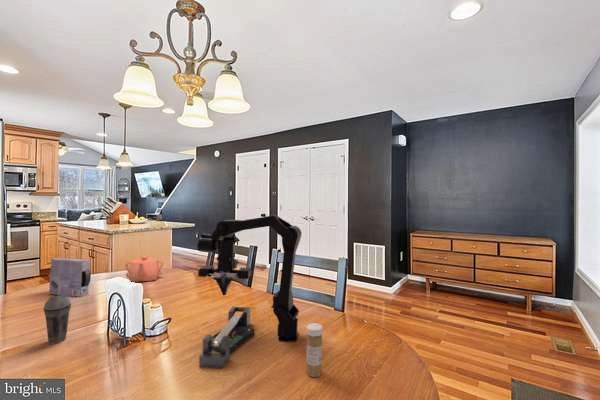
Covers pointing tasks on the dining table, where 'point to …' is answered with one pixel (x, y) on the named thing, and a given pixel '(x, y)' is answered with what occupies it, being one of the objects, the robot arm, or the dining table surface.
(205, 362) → the bracket
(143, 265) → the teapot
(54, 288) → the cake pan box
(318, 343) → the sprinkles bottle
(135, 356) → the dining table surface
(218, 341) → the long grey bar
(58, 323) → the beverage cup
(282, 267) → the robot arm
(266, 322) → the dining table surface
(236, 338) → the disk drive
